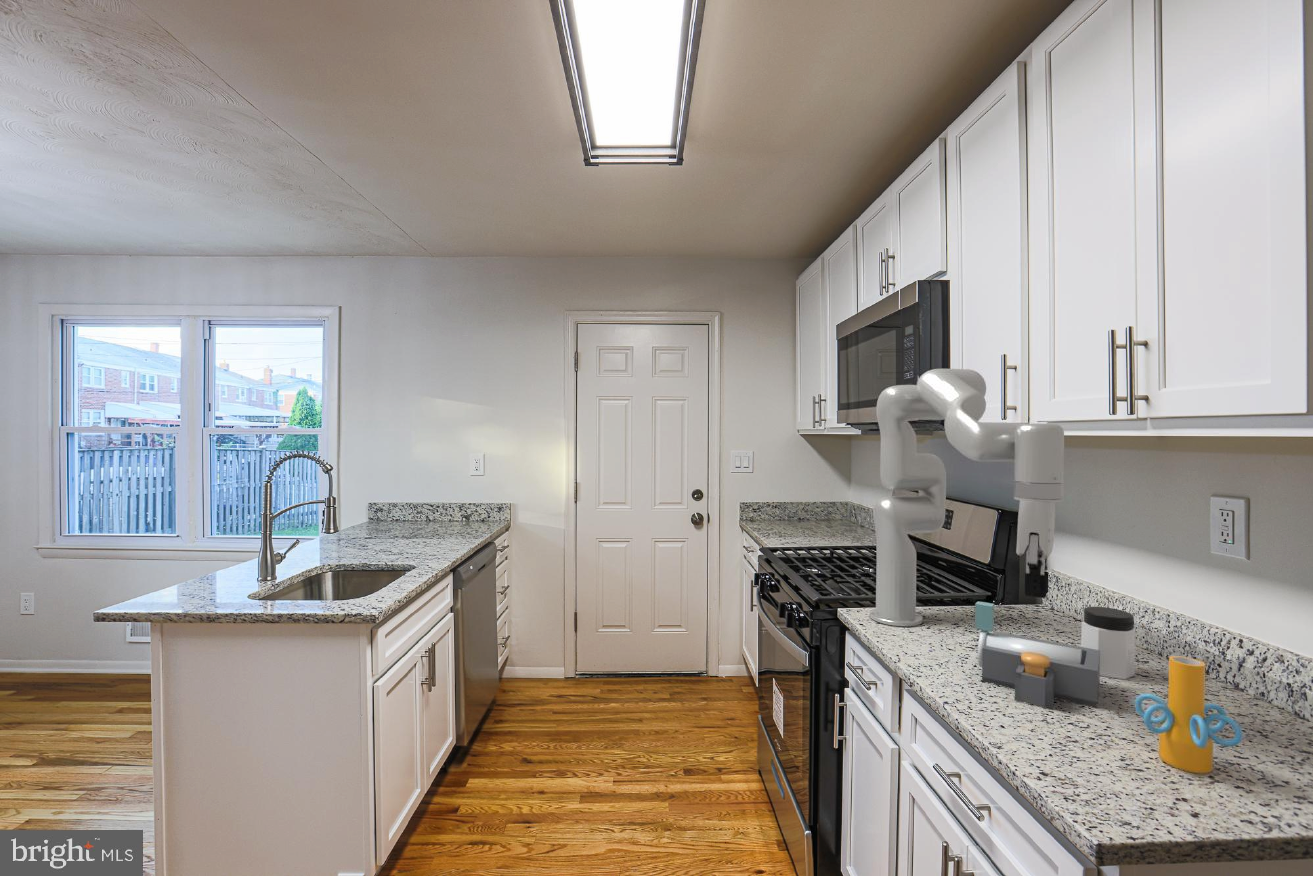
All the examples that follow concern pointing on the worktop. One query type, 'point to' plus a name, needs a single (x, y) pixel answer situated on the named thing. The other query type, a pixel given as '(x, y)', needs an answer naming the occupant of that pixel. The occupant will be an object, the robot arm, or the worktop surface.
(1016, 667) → the housing
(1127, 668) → the jar
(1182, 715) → the ringed yellow tube
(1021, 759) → the worktop surface
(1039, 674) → the plunger
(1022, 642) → the cartridge
